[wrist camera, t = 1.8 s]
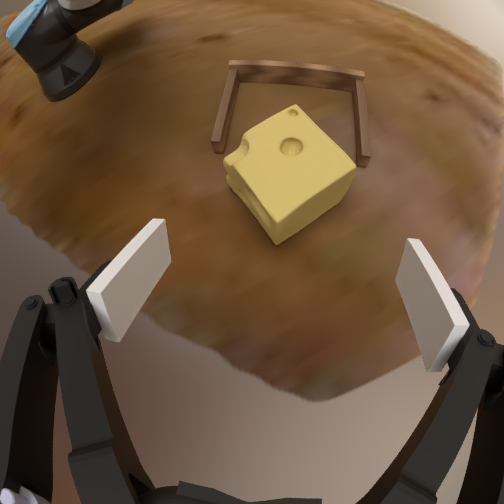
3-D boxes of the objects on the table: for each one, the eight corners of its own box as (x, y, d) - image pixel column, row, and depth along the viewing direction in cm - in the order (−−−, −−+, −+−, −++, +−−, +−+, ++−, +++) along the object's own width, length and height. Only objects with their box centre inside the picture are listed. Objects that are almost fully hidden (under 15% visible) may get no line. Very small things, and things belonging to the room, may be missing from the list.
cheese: (228, 187, 37) (212, 146, 28) (295, 146, 38) (298, 97, 28) (276, 252, 35) (275, 226, 25) (345, 203, 36) (365, 165, 26)
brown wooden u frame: (215, 152, 39) (209, 136, 35) (233, 77, 42) (230, 60, 38) (365, 167, 36) (372, 152, 32) (358, 88, 39) (363, 71, 36)
